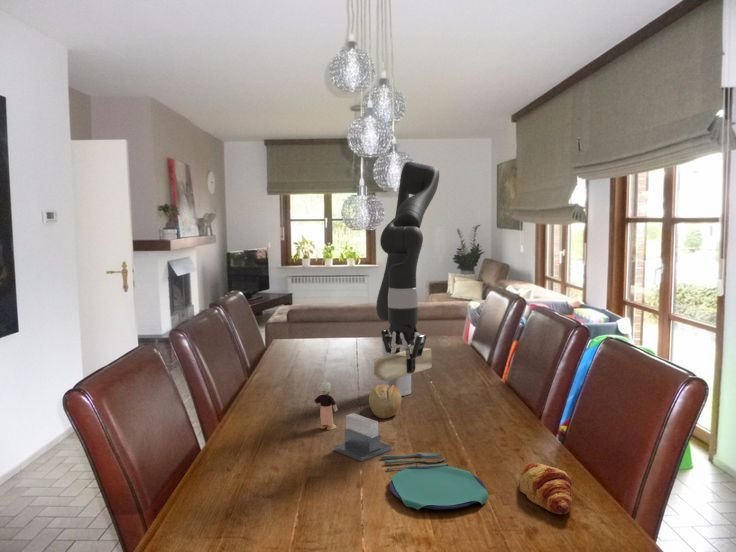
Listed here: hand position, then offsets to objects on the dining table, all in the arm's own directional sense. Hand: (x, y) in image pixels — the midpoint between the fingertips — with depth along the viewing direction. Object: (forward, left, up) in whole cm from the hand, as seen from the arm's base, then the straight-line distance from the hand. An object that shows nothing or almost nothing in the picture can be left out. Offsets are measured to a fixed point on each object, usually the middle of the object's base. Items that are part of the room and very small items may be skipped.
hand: (403, 371), depth 154 cm
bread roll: (-19, +11, -18) cm, 28 cm away
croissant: (+43, -3, -18) cm, 47 cm away
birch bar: (0, 0, -1) cm, 1 cm away
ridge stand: (-1, -13, -18) cm, 22 cm away
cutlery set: (+22, -15, -18) cm, 32 cm away
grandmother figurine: (-20, -9, -18) cm, 29 cm away
